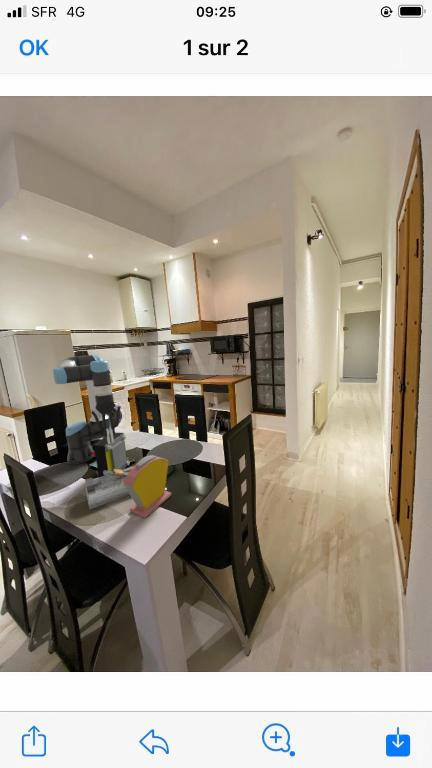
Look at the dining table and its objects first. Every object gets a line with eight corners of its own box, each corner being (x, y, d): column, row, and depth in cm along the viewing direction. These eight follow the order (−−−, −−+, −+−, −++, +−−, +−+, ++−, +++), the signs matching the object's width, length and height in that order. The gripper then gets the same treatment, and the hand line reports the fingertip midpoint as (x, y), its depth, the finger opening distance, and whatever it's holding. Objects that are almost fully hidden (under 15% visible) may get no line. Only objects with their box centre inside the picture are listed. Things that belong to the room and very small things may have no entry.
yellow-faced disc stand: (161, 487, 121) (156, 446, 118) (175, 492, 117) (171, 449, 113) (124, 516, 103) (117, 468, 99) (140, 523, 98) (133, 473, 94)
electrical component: (113, 481, 129) (107, 445, 126) (96, 480, 132) (90, 445, 128) (131, 464, 146) (126, 432, 143) (115, 464, 148) (111, 432, 145)
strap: (102, 471, 119) (103, 467, 119) (133, 473, 128) (135, 470, 128) (104, 476, 114) (106, 472, 114) (137, 479, 122) (138, 475, 123)
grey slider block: (86, 488, 117) (85, 479, 116) (100, 484, 120) (99, 475, 119) (88, 496, 111) (86, 486, 110) (102, 491, 114) (101, 482, 113)
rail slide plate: (86, 494, 120) (83, 480, 119) (139, 475, 134) (138, 463, 132) (89, 509, 108) (87, 495, 107) (148, 487, 122) (146, 474, 121)
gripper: (87, 398, 108) (95, 449, 112) (121, 392, 115) (127, 440, 119) (86, 395, 114) (93, 443, 118) (117, 390, 121) (124, 436, 125)
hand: (110, 442), depth 119 cm, fingers closed
